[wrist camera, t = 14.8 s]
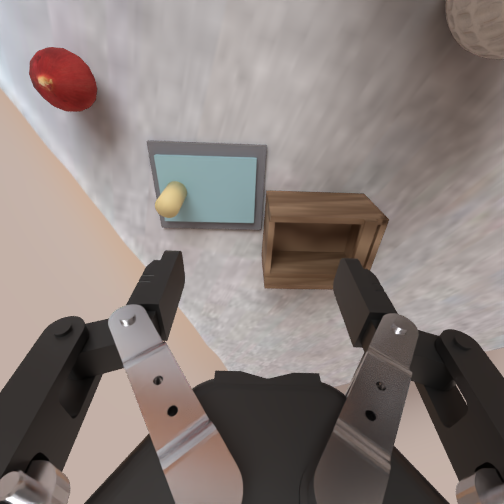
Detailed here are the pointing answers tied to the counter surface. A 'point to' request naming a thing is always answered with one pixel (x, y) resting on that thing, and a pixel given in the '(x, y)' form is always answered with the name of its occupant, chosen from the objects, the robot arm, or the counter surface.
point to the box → (317, 236)
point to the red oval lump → (63, 79)
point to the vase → (478, 26)
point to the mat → (213, 150)
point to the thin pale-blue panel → (206, 188)
